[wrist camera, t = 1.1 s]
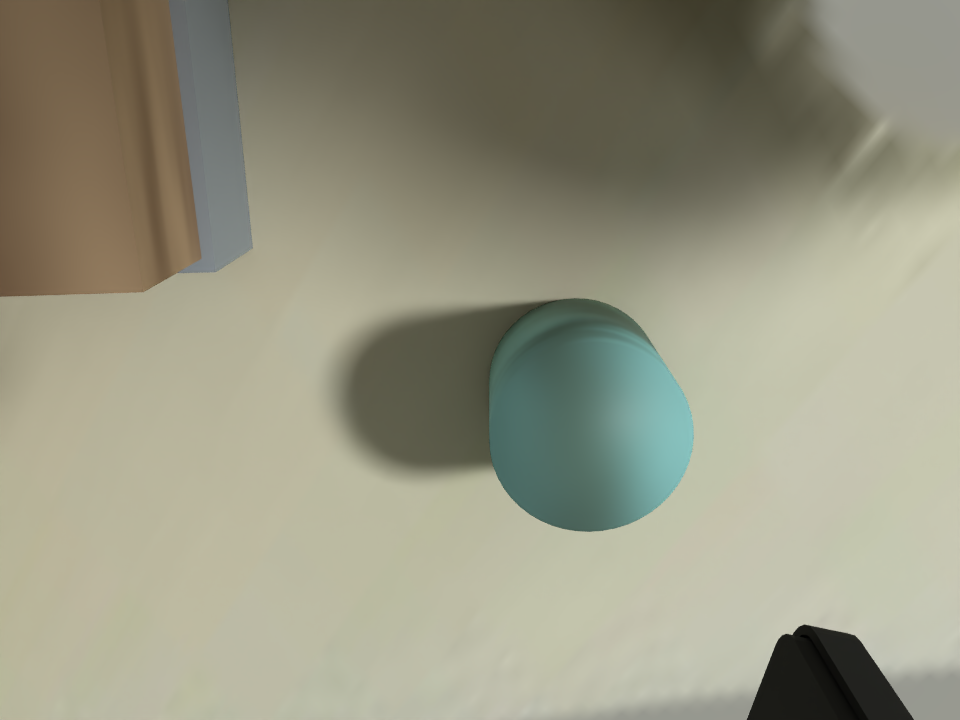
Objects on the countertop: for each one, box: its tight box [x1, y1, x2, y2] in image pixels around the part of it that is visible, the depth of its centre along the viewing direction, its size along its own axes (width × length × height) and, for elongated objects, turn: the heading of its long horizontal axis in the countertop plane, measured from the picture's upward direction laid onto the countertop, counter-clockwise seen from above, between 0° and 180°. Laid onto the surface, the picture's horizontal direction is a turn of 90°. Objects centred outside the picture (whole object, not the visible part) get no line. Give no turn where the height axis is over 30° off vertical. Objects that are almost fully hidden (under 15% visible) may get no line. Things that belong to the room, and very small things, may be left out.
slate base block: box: [169, 0, 253, 273], centre depth 26 cm, size 10×10×4 cm
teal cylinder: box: [489, 298, 694, 532], centre depth 28 cm, size 6×6×6 cm
